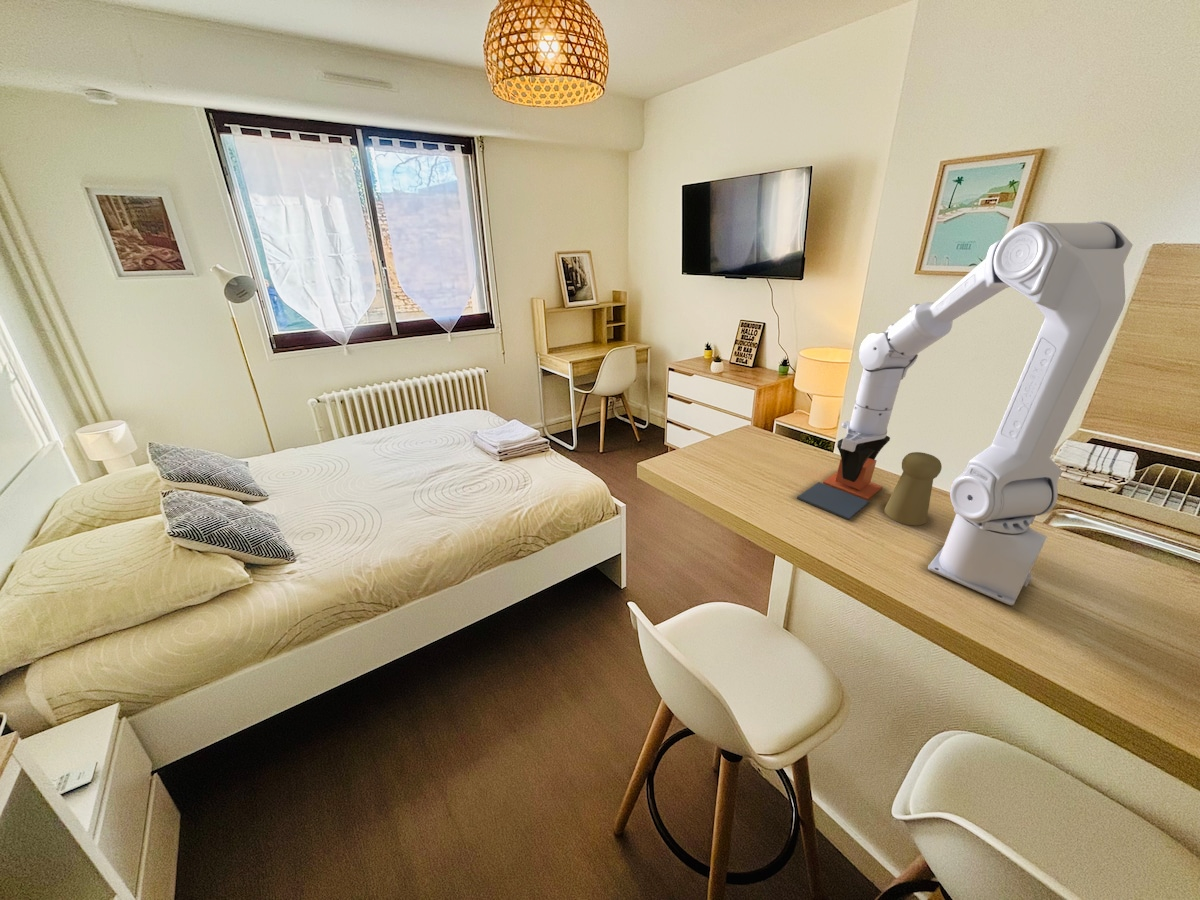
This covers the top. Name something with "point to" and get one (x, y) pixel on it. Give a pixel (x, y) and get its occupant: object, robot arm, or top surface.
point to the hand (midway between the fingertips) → (855, 474)
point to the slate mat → (833, 500)
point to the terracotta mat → (863, 493)
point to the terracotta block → (863, 477)
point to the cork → (913, 489)
